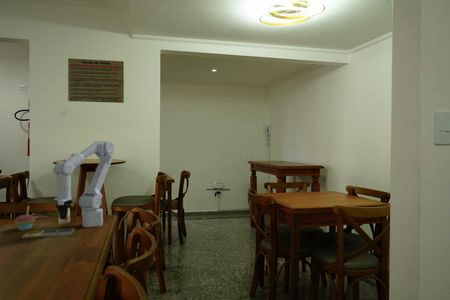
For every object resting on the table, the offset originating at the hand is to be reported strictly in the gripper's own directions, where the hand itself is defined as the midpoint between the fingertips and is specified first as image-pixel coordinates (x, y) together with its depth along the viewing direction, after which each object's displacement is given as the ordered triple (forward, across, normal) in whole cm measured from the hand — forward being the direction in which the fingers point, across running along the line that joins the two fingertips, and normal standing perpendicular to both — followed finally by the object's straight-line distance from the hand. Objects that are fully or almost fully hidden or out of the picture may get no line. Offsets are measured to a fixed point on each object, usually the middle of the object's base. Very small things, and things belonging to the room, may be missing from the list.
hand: (64, 217), depth 147 cm
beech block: (+2, 0, 0) cm, 2 cm away
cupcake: (+8, -15, -20) cm, 26 cm away
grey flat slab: (+8, 0, -6) cm, 10 cm away
